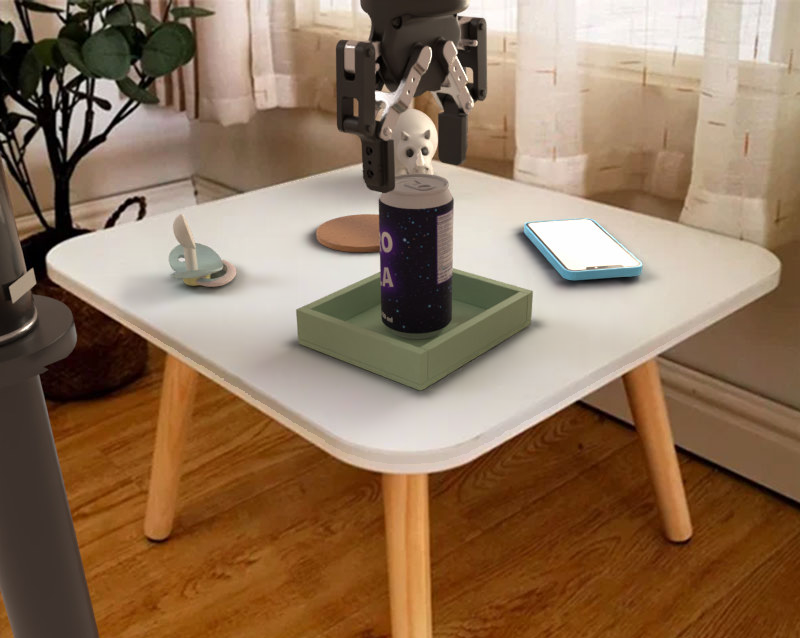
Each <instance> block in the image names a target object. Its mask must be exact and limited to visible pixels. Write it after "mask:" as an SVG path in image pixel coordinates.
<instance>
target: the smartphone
mask: <svg viewBox="0 0 800 638" xmlns="http://www.w3.org/2000/svg"><path fill="white" fill-rule="evenodd" d="M523 234H524V235H525V236H526V237H527V238H528V239H529V240H530V242H531V243H532V244H533V245H534V246H535V247H536V248H537V250H538V251H539V252H540V253H541V254H542V255H543V257H544V258H545V259H546V260H547V261H548V263H549V264H550V265H551V266H552V267H553V268H554V269H555V271H556V272H557V273H558V274H559V275H560V276H561V277H562V278H563V279H565V280H569V281H585V280H598V279H611V278H623V277H624V278H625V277H626V278H632V277H636V276H640V275H642V273H643V267H644V266H643V265H644V264H643V262H642V261H641V260H640V259H639V258H638V257H636V256H635V255H634V254H633V253H632V252H631V251H630V250H629V249H627V248H626V247H625V246H624V245H623V244H622V243H621V242H620V241H618V240H617V238H615V237H614V236H613V235H612V234H610V232H608V231H607V230H606V229H605V228H604V227H603V226H602V225H600V223H598V222H597V221H596V220H595V219H592V218H586V217H581V218H566V219H565V218H564V219H550V220H549V219H548V220H536V221H527V222H524V226H523Z"/></svg>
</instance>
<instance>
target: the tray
mask: <svg viewBox="0 0 800 638" xmlns="http://www.w3.org/2000/svg"><path fill="white" fill-rule="evenodd" d="M533 297H534V291H533V290H531V289H527V288H525V287H521V286H517V285H514V284H510V283H507V282H503V281H500V280H496V279H492V278H489V277H486V276H482V275H479V274H475V273H471V272H468V271H465V270H461V269H458V268H454V267H453V277H452V320H451V322H450V323H449V324H448V325H447V326H446V327H445V328H443V329H442V331H441V332H440V333H439V334H437V335H436V336H433V337H430V338H425V339H408V338H403V337H400V336H397V335H396V334H394V333H393V332H392V330H391V329H390V328H388V327H387V326H386V325H385V324H384V323H383V322H382V318H381V279H380V271H379V272H375V273H374V274H372V275H369V276H367V277H365V278H363V279H361V280H358V281H355V282H354V283H351V284H350V285H347V286H345V287H343V288H341V289H338V290H337V291H333V292H332V293H330V294H329V293H328V295H325V296H323V297H321V298H319V299H318V298H317V300H314V301H312V302H310V303H307V304H305V305H303V306H301V307H299V308H297V309H295V317H296V328H297V330H296V331H297V342H298V345H301V346H304V347H306V348H308V349H312V350H314V351H317V352H319V353H322V354H325V355H327V356H330V357H333V358H335V359H337V360H340V361H342V362H345V363H348V364H350V365H352V366H355V367H358V368H360V369H363V370H366V371H368V372H371V373H373V374H376V375H379V376H381V377H384V378H386V379H389V380H391V381H394V382H397V383H399V384H401V385H404V386H406V387H409V388H412V389H413V390H414V389H415V390H417V391H420V392H422V391H423V390H425V389H427V388H429V387H430V386H431V385H433V384H435V383H436V382H439V381H441V380H442V379H443V378H446V376H448V375H450V374H452V373H453V372H454V371H457V370H458V369H459V368H461V367H463V366H464V365H467V364H468V363H469V362H471V361H473V360H475V359H476V358H478V357H479V356H481V355H482V354H484V353H486V352H488V351H490V350H491V349H493V348H494V347H495V346H498V345H499V344H501V343H503V342H504V341H505V340H508V339H509V338H511V337H512V336H514V335H515V334H517V333H519V332H521V331H522V330H524V329H525V328H527V327H529V326H530V325H532V317H533V316H532V312H533V300H534V299H533Z"/></svg>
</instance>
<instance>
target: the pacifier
mask: <svg viewBox="0 0 800 638" xmlns="http://www.w3.org/2000/svg"><path fill="white" fill-rule="evenodd" d="M172 230H173V231H172V232H173V234H174V235H173V236H174V237H175V239H176V241H177V242H178V245H176V246H174V247H173V248H172V250H170V253H169V255H168V263H169V266H170V268H171V269H172V270H173V271H174V272H172V273H170V276H171V278H172V279H182V280H183V282H184V284H185V285H187V286H191V287H196V286H204V287H209V288H210V287H211V288H212V287H215V288H216V287H221V286H224V285H227V284H229V283H230V282H231V281H233V280H234V279H235V278H236V275H237V269H236V267H235V266H234V264H233V263H231V262H229V261H228V260H225V259H222V257H221V256H220V255H219V254H218V253H217V251H215V250H214V249H213V248H211V247H210V246H208V245H205V244H202V243H199V242H195V238H194V236H193V232H192V230H191V227H190V226H189V223H188V221H187V219H186V217H185V215H184V214H182V213H181V214H179V215H176V217H175V219H174V220H173V224H172ZM179 259H184V261H182V260H181V261H180V260H179ZM222 270H224V271H226V272H225V273H224V274H223V275H221V276H219V277H215V278H211V275H213V274H216V273H218V272H219V271H222Z"/></svg>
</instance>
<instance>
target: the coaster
mask: <svg viewBox="0 0 800 638" xmlns="http://www.w3.org/2000/svg"><path fill="white" fill-rule="evenodd" d="M316 240H317V241H318V243H319V244H321V245H322V246H324V247H327V248H329V249H331V250H336V251H341V252H347V253H377V252H380V239H379V214H376V213H374V214H373V213H364V214H361V213H360V214H350V215H344V216H339V217H335V218H332V219H329V220H327V221H325V222H323V223H322V224H320V225H319V226H318V227H317V228H316Z"/></svg>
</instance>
